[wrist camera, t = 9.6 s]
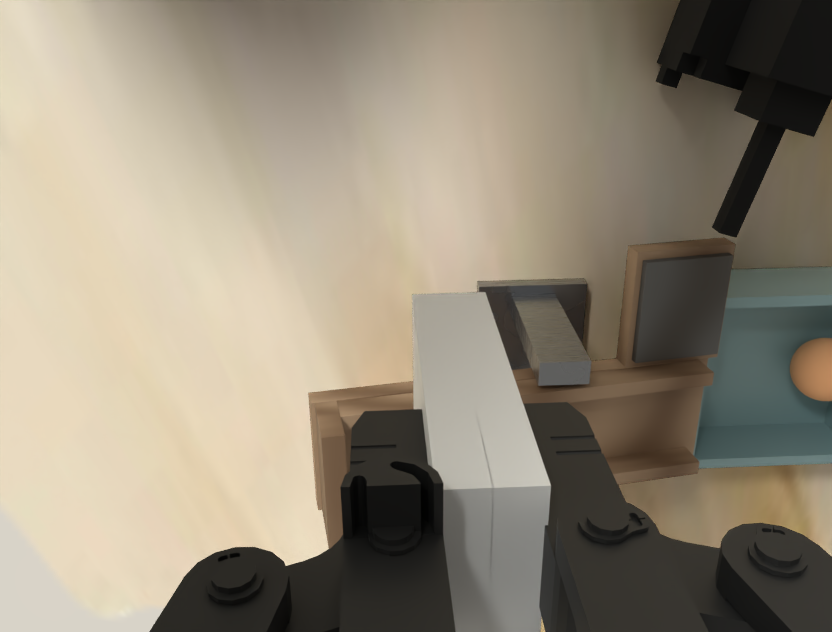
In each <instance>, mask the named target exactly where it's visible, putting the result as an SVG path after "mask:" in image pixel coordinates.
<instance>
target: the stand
mask: <svg viewBox="0 0 832 632" xmlns="http://www.w3.org/2000/svg"><path fill="white" fill-rule="evenodd" d="M586 291H587V283H586V281H585V280H584V278H583V279H548V280H512V281H477V292H485V293H486V296H487V299H488V302H489V305H490V307H491V310H492V313H493V316H494V319H495V322H496V325H497V328H498V331H499V334H500V337H501V340H502V343H503V346H504V349H505V352H506V355H507V358H508V361H509V363H510V366H511V369H512V370H517V369H526V368H532V371H533V373H534V376H535V378H536V381H537V384H538V386H545V385H575V384H589V382H590V371H591V360H590V358H589V356H588V354H587V352H586V350H585V349H584V347H583V345H582V339H583V327H584V315H585V303H586Z"/></svg>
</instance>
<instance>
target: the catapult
mask: <svg viewBox="0 0 832 632" xmlns="http://www.w3.org/2000/svg"><path fill="white" fill-rule="evenodd" d="M735 245H736V244H734V243H733V242H731V241H729V240H727V239H726V238H713V239H701V240H689V241H677V242H665V243H653V244H642V245H630V246H628V253H627V263H626V272H625V282H624V292H623V301H622V311H621V320H620V330H619V339H618V349H617V358H615V359H606V360H597V361H591V371H590V382H589V384H575V385H545V386H538V384H537V381H536V378H535V376H534V373H533V371H532V368H526V369H517V370H512V372H513V375H514V378H515V381H516V384H517V387H518V390H519V393H520V396H521V399H522V402H523V404H525V403H554V402H568V403H569V404H570V405H572V406H573V407H574V408H575V409H577V410H578V411H579V412H580V413H582V414H583V415H584V416H585V417H586V418H587V420H588V422H589V424H590V426H591V428H592V431H593V433H594V435H595V439H597V441H598V443H599V446H600V448H601V452H602V454H604V456H605V458H606V461H607V463H608V465H609V467H610V469H611V471H612V473H613V476H614V478H615V480H616V482H617V484H618V485H620V484H627V483H634V482H641V481H648V480H655V479H662V478H669V477H676V476H683V475H690V474H697V473H698V469H699V463H700V462H699V461H698V460H697V459H696V458H695V457H694V455H693V451H694V445H695V439H696V432H697V426H698V420H699V413H700V407H701V401H702V394H703V388H704V386H710V385H712V383H713V377H714V372H713V371H712V370H710V369H709V368H708V367H707V363H708V358H712V357H717V355H718V349H719V343H720V337H721V331H722V325H723V318H724V312H725V306H726V300H727V294H728V288H729V282H730V275H731V269H732V263H733V257H734V251H735ZM308 395H309V408H310V421H311V435H312V448H313V462H314V475H315V488H316V500H317V506H318V510H322V511H323V517H324V523H325V529H326V534H327V540H328V546H329V549H330V548H331V547H332V546H333V545H334V544H336V543H337V542H338V541H339V540H340V538H341V537H342V535H343V523H342V507H341V490H340V487H341V484H342V482H343V479H344V476H345V475H346V474H347V473H348V472H349V471H350V454H351V431H352V427H353V425H354V424H355V423H356V421H357V420H358V419H359V417H360V416H361V415H362V414H363V412H364V411H382V410H411V409H414V399H413V381H410V382H401V383H392V384H383V385H374V386H365V387H356V388H348V389H339V390H330V391H321V392H312V393H308Z"/></svg>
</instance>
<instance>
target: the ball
mask: <svg viewBox="0 0 832 632" xmlns="http://www.w3.org/2000/svg"><path fill="white" fill-rule="evenodd" d="M790 375H791V378H792V381H793V383H794V384H795V386H796V387H797V388H798V389H799V391H800V392H802V393H803V394H804V395H806V396H808V397H810V398H812V399H815V400H819V401H832V338H817V339H813V340H810V341H808V342H806V343H804V344H803V345H801V346H800V347H799V348H798V349H797V350H796V351H795V353H794V354H793V356H792V359H791V362H790Z"/></svg>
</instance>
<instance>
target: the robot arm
mask: <svg viewBox="0 0 832 632" xmlns="http://www.w3.org/2000/svg"><path fill="white" fill-rule="evenodd" d="M412 321H413V399H414V409H411V410H382V411H364V412H363V414H362V415H361V416H360V417H359V419H358V420H357V421H356V423H355V424H354V425H353V427H352V431H351V454H350V471H349V472H348V473H347V474H346V475H345V476H344V479H343V482H342V484H341V487H340V490H341V507H342V523H343V535H342V537H341V538H340V540H339V541H338V542H337V543H336V544H334V545H333V546H332V547H331V548H330V549H328V550H327V551H325V552H323V553H322V554H320V555H318V556H316V557H313V558H311V559H308V560H305V561H303V562H299V563H295V564H292V565H288V566H285V563H284V561H282V560H281V559H280V558H279V557H277V556H276V555H275V554H274V553H272V552H270V551H266V550H263V549H259V548H256V547H235V548H231V549H227V550H224V551H220V552H216V553H214V554H212V555H210V556H209V557H207V558H205V559H203V560H202V561H200V562H198V563H197V564H196V565H195V566H194V567H193V568H192V569H191V570H190V571H189V572H188V573H187V574H186V576H185V577H184V578H183V580H182V582H181V583H180V585H179V586H178V588H177V589H176V591H175V593H174V594H173V596H172V597H171V599H170V600H169V602H168V603H167V605H166V607H165V608H164V610H163V611H162V613H161V614H160V616H159V618H158V619H157V621H156V622H155V624H154V625H153V627H152V629H151V630H150V632H540V631H541V617H542V620H543V623H544V627H545V631H546V632H832V557H831V556H830V555H829V554H828V553H827V552H826V551H824V550H823V549H822V548H821V547H820V546H819V545H817V544H816V543H814V542H813V541H811V540H810V539H808V538H807V537H805V536H804V535H802V534H800V533H797V532H795V531H792V530H790V529H787V528H784V527H782V526H776V525H770V524H764V523H754V524H742V525H740V526H738V527H735V528H733V529H731V530H729V531H728V532H727V534H726V535H725V536H724V538H723V539H722V541H721V547H720V548H714V547H709V546H703V545H697V544H692V543H686V542H682V541H679V540H675V539H671V538H668V537H666V536H663V535H661V534H660V533H659V531H658V529H657V527H656V525H655V524H654V522H653V521H652V520H651V519H650V517H649V516H648V515H647V514H646V513H645V512H643V511H642V510H640V509H638V508H637V507H635V506H634V505H632V504H630V503H626V501H625V499H624V497H623V495H622V493H621V491H620V488H619V486H618V484H617V482H616V480H615V478H614V476H613V473H612V471H611V469H610V467H609V465H608V463H607V461H606V458H605V456H604V454H602V452H601V448H600V446H599V443H598V441H597V439H595V435H594V433H593V431H592V428H591V426H590V424H589V422H588V420H587V418H586V417H585V416H584V415H583V414H582V413H580V412H579V411H578V410H577V409H575V408H574V407H573V406H572V405H570V404H569V403H568V402H554V403H525V404H523V402H522V399H521V396H520V393H519V390H518V387H517V384H516V381H515V378H514V375H513V372H512V369H511V366H510V363H509V361H508V358H507V355H506V352H505V349H504V346H503V343H502V340H501V337H500V334H499V331H498V328H497V325H496V322H495V319H494V316H493V313H492V310H491V307H490V305H489V302H488V299H487V296H486V293H485V292H472V293H437V294H412Z"/></svg>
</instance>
